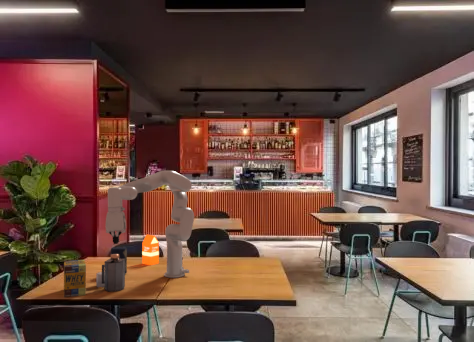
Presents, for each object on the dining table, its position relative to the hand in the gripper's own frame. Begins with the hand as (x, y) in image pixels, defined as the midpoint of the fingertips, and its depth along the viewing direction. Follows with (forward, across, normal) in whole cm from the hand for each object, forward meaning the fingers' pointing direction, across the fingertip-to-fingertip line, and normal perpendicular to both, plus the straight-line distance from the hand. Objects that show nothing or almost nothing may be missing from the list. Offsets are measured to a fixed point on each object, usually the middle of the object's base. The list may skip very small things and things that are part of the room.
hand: (116, 243), depth 215 cm
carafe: (+24, +1, +1) cm, 25 cm away
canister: (+25, +10, -30) cm, 40 cm away
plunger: (+19, +1, +1) cm, 19 cm away
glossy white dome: (+25, +10, -5) cm, 27 cm away
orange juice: (+26, -1, -62) cm, 67 cm away
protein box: (+24, +20, +8) cm, 32 cm away
